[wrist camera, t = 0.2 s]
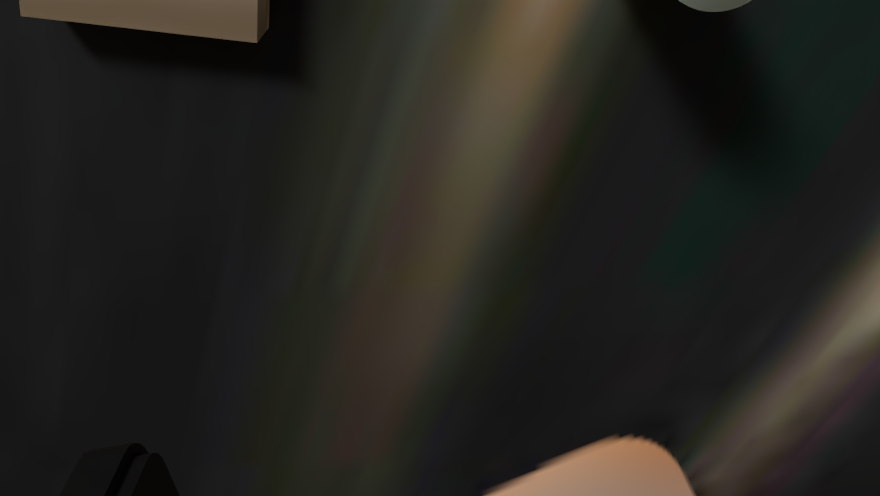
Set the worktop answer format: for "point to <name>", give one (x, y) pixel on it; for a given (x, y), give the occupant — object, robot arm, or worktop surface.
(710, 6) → the dowel
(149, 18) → the tan rectangular frame
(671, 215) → the worktop surface
